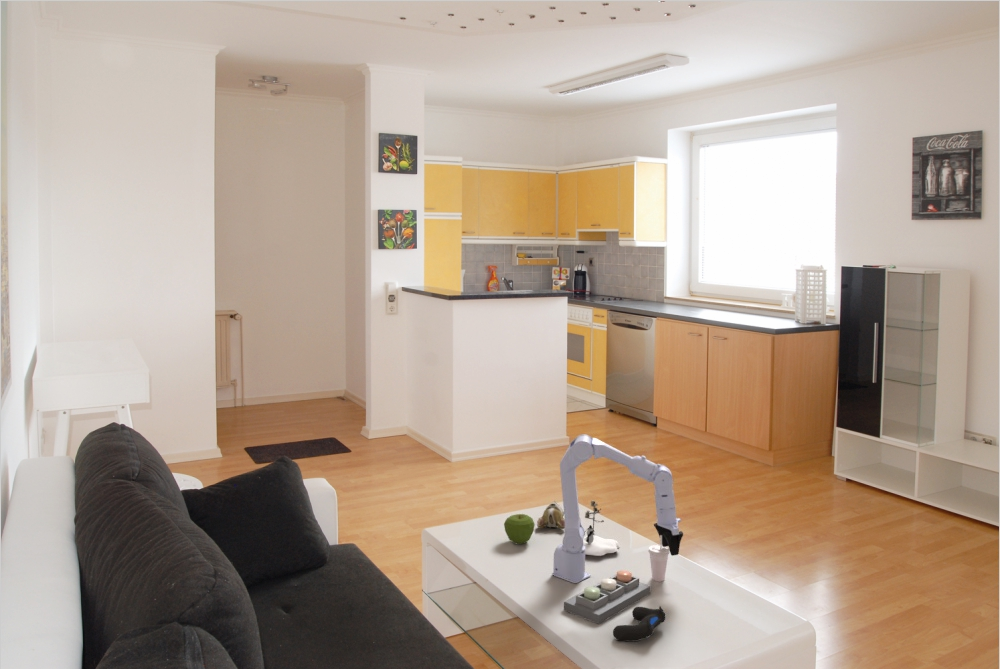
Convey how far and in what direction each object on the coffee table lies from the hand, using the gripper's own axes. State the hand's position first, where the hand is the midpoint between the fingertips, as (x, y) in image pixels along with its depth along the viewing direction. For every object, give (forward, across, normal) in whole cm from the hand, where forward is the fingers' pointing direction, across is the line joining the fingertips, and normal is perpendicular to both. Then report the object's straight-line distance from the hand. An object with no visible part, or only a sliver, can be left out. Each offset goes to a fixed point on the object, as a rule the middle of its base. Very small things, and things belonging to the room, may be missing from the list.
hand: (670, 550), depth 235 cm
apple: (+4, +38, +42) cm, 57 cm away
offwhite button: (+4, -10, +22) cm, 25 cm away
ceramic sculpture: (+5, +53, +27) cm, 60 cm away
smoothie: (+10, +4, +4) cm, 12 cm away
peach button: (+5, -5, +16) cm, 18 cm away
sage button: (+3, -15, +29) cm, 33 cm away
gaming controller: (+10, -28, +19) cm, 36 cm away
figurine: (+8, +30, +18) cm, 36 cm away
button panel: (+8, -10, +23) cm, 26 cm away
